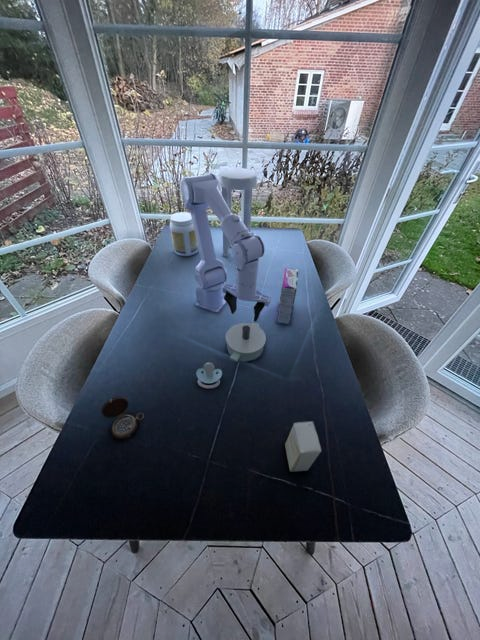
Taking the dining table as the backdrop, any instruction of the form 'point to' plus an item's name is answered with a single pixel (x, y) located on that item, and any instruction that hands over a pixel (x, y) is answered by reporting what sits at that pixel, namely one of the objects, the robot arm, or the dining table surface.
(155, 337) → the dining table surface
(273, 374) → the dining table surface
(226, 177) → the stool
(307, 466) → the cosmetic box
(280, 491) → the dining table surface
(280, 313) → the candy bar box
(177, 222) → the supplement tub
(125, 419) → the compass
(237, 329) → the lid
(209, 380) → the pacifier
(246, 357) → the grey-green ring with tabs
